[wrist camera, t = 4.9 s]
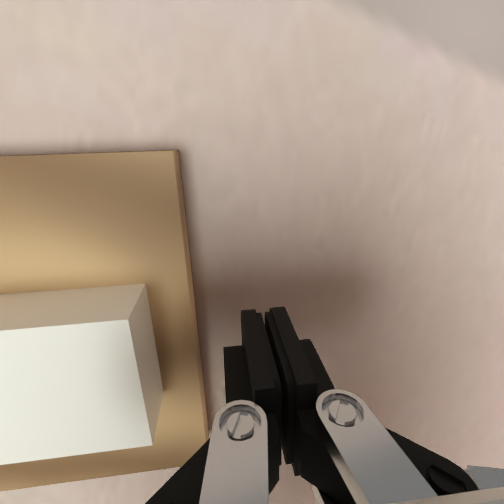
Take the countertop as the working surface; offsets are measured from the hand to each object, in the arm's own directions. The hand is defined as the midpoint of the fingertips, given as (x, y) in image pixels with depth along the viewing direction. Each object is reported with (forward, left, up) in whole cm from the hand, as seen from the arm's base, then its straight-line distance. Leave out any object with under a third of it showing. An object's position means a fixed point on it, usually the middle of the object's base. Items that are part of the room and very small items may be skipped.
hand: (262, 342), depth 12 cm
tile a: (0, +7, -1) cm, 7 cm away
